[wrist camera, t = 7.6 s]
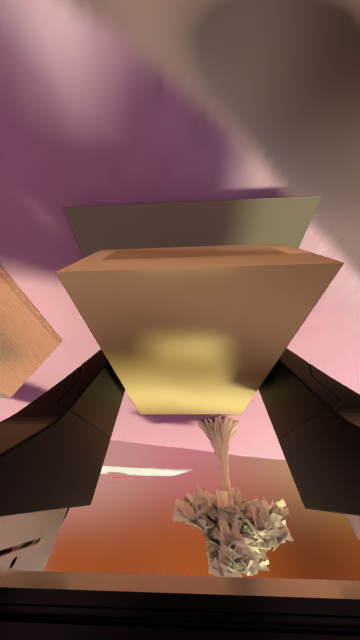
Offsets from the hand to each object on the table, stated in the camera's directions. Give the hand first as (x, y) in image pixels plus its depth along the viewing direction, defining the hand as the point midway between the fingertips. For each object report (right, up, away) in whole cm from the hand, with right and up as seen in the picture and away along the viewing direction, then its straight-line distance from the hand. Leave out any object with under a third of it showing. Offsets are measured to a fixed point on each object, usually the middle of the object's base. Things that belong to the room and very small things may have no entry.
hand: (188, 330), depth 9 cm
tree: (+8, -22, +22) cm, 32 cm away
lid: (0, 0, -1) cm, 1 cm away
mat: (0, +2, +2) cm, 3 cm away
